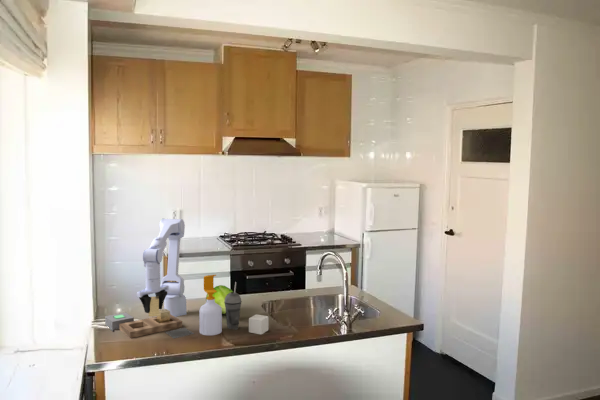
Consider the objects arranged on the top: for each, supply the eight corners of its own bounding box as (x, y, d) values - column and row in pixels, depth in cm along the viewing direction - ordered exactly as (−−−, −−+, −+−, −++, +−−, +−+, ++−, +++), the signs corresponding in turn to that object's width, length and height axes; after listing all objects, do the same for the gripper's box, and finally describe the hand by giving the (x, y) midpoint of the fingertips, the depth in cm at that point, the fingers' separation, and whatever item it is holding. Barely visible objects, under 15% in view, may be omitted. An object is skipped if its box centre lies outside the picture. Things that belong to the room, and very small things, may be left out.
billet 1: (158, 312, 211) (158, 296, 210) (158, 315, 207) (158, 299, 206) (148, 313, 210) (148, 296, 209) (148, 316, 206) (148, 299, 205)
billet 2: (166, 324, 220) (166, 308, 219) (170, 327, 216) (169, 311, 216) (157, 326, 217) (157, 310, 216) (161, 329, 214) (160, 313, 213)
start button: (122, 321, 219) (122, 314, 219) (125, 323, 217) (125, 316, 216) (113, 323, 217) (113, 316, 217) (116, 325, 214) (116, 318, 214)
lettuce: (211, 322, 223) (211, 296, 222) (203, 309, 242) (203, 284, 241) (242, 319, 227) (242, 293, 226) (232, 306, 246) (232, 282, 245)
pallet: (170, 320, 225) (169, 313, 225) (182, 328, 216) (182, 321, 215) (119, 331, 211) (119, 324, 211) (130, 339, 202) (130, 332, 202)
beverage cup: (224, 325, 219) (224, 279, 217) (241, 325, 220) (241, 279, 218) (223, 331, 212) (223, 284, 210) (241, 331, 213) (241, 284, 211)
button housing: (126, 321, 223) (126, 312, 223) (133, 326, 216) (133, 317, 216) (105, 325, 218) (105, 316, 217) (112, 331, 211) (112, 321, 210)
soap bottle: (203, 338, 204) (203, 277, 202) (196, 330, 213) (196, 272, 210) (224, 334, 209) (224, 275, 206) (217, 327, 217) (217, 270, 214)
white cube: (256, 328, 217) (256, 314, 217) (268, 330, 215) (268, 316, 214) (248, 332, 212) (248, 318, 211) (261, 334, 209) (261, 320, 209)
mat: (184, 328, 215) (184, 327, 215) (194, 335, 208) (194, 333, 208) (164, 333, 209) (164, 332, 209) (173, 339, 202) (173, 338, 202)
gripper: (160, 273, 215) (161, 304, 217) (131, 279, 204) (132, 313, 205) (172, 275, 211) (172, 307, 213) (143, 282, 200) (143, 316, 201)
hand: (153, 310), depth 208 cm, fingers closed on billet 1, 6 cm apart
